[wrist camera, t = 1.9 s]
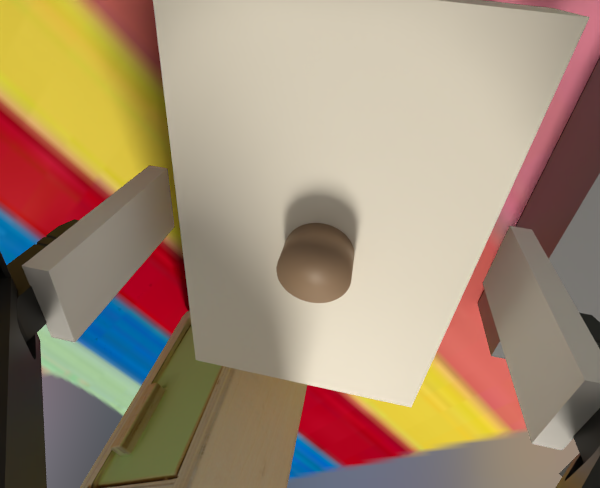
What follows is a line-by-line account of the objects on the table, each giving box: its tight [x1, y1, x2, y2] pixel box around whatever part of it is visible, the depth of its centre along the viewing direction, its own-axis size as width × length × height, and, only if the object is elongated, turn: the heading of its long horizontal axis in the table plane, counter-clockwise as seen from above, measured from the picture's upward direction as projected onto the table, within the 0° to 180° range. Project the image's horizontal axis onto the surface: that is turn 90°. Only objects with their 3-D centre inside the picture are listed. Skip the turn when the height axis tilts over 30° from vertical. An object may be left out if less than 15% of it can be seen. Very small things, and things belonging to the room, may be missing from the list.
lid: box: [153, 0, 589, 407], centre depth 14 cm, size 15×10×4 cm, turn 175°
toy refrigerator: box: [80, 311, 307, 488], centre depth 20 cm, size 8×7×21 cm
